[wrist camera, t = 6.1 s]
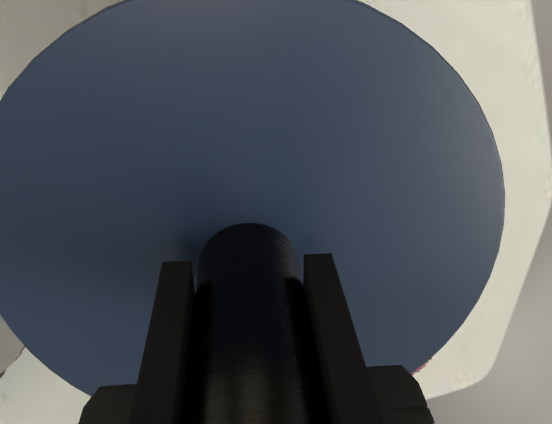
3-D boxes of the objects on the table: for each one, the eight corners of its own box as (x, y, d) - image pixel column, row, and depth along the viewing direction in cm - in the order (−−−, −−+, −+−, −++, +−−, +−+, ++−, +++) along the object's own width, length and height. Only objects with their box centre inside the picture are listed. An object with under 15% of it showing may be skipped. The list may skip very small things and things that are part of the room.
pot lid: (55, 418, 19) (-66, 756, 12) (-102, -21, 12) (-847, 92, 4) (444, 391, 20) (579, 685, 12) (545, -32, 12) (1091, 38, 5)
